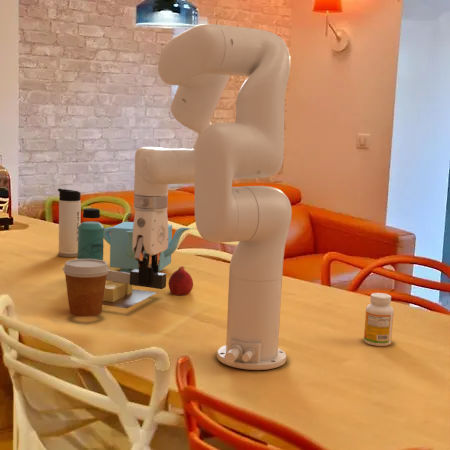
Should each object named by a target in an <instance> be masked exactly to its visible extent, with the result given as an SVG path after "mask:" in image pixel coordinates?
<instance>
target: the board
mask: <svg viewBox="0 0 450 450" xmlns="http://www.w3.org/2000/svg"><path fill="white" fill-rule="evenodd" d="M157 293H158V291H151V290H149V291H148V290H142V289H134V288H132V293H131V294H129V295H125V297H122V298H120V299H118V300H116V301H114V302H108V301H103V304H102V306H105V307H106V306H108V307H113V308H114V307H116V308H121V309H129V308H131V307H133V306H135V305H137V304H139V303H140V302H142V301H144V300H146V299H148V298H150V297H153V296H154V295H156V294H157Z"/></svg>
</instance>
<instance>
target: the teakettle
mask: <svg viewBox="0 0 450 450" xmlns="http://www.w3.org/2000/svg"><path fill="white" fill-rule="evenodd" d="M133 225H134V221H123V222H120V223H119V224H116V225H114V226H109V227H104V238H103V240H104V241H105V242H106V243H107V244H108V245H109V268H113V269H114V268H115V269H120V270H119V272H126V273H130V271H132V270H134V269H137V270H139V267H138V261H137V260H135V253H134V252H133V247H132V241H133ZM190 229H191V227H179V228H177V230H175V232H174V234H173V225H172V224H168V248H167V249H166V250H165V251H163V252H161V253H160V258H159V268H158V272H161V271H163V270H164V269H165V268H166V267H167V266H169V265H170V264H172V254H174V252H175V251H176V250H177V248H178V245H179V243H180V239H181V237H182V235H183V234H184V233H185V232H186V231H189V230H190ZM143 253H146V251H143ZM146 259H147V257H146Z"/></svg>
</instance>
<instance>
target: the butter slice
mask: <svg viewBox="0 0 450 450" xmlns="http://www.w3.org/2000/svg"><path fill="white" fill-rule="evenodd" d="M111 282H115V281H111ZM116 283H122V282H116ZM124 284H125V295H129V294H131V293H132V289H133V285H130V284H129V283H124Z"/></svg>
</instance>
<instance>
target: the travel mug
mask: <svg viewBox="0 0 450 450" xmlns="http://www.w3.org/2000/svg"><path fill="white" fill-rule="evenodd" d="M57 191H58V192H59V195H58V196H59V199H58V256H59V257H62V258H77V254H78V226H79V225H80V224H81V223H82V221H81V219H82V218H81V215H82V213H81V210H82V209H81V207H82V199H81V196H82V195H81V191H79V190H73V189H65V188H58V189H57Z"/></svg>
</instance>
